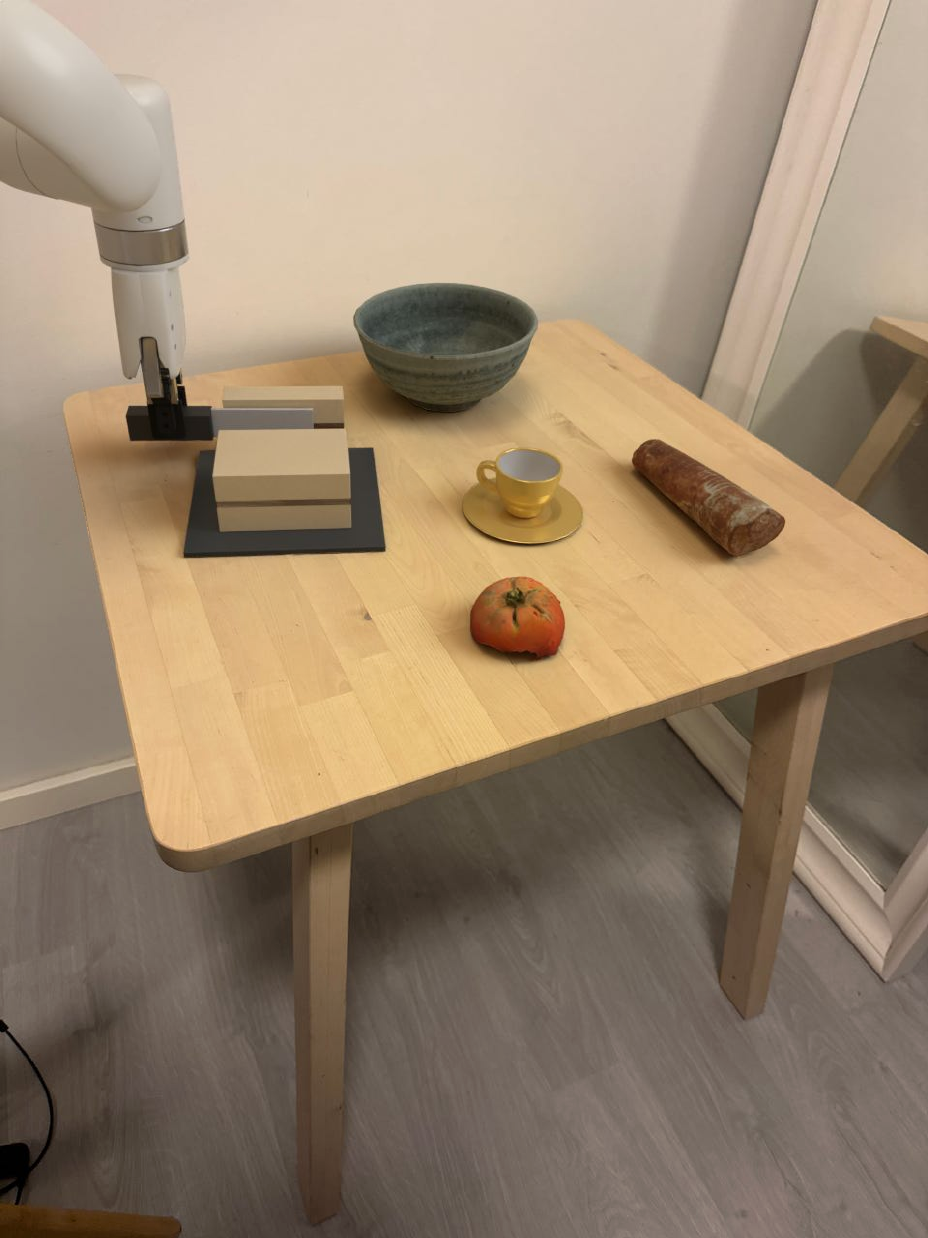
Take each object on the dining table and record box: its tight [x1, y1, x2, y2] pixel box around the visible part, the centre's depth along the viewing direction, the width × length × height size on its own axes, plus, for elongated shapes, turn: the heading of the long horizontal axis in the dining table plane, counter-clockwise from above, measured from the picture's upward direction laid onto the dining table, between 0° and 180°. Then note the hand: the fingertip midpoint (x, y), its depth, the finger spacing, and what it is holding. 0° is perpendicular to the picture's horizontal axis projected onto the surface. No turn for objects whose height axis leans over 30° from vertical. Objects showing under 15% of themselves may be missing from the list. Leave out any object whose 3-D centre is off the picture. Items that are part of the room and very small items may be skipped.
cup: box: [461, 446, 584, 544], centre depth 88 cm, size 12×12×5 cm
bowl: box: [352, 282, 539, 413], centre depth 105 cm, size 21×21×10 cm
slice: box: [221, 385, 346, 429], centre depth 94 cm, size 12×3×6 cm, turn 98°
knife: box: [125, 405, 314, 442], centre depth 91 cm, size 18×2×3 cm, turn 98°
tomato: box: [469, 576, 566, 662], centre depth 75 cm, size 8×7×7 cm
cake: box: [182, 428, 387, 559], centre depth 87 cm, size 18×18×7 cm
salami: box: [631, 438, 786, 558], centre depth 90 cm, size 6×19×6 cm, turn 25°
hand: (171, 429), depth 90 cm, fingers closed on knife, 2 cm apart
